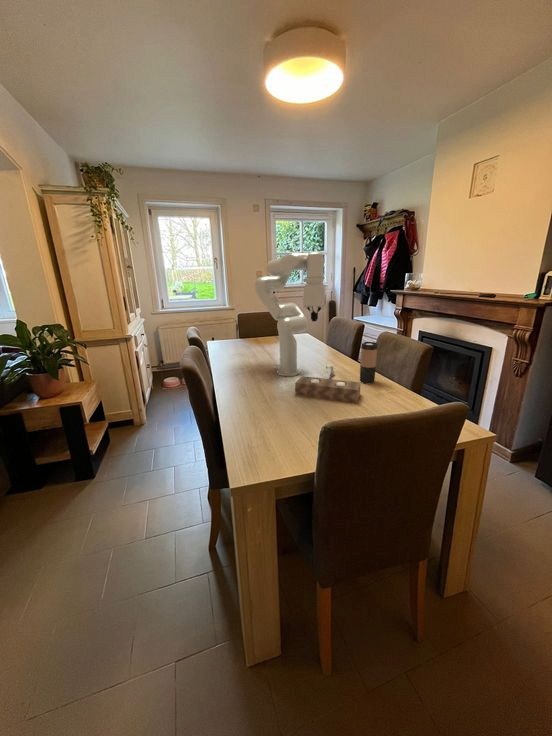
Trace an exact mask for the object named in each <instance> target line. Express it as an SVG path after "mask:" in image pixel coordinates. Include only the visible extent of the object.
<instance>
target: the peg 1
mask: <svg viewBox="0 0 552 736" xmlns="http://www.w3.org/2000/svg"><path fill="white" fill-rule="evenodd" d="M311 383H319V380H318V379H312V380H311Z"/></svg>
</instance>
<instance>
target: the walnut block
mask: <svg viewBox="0 0 552 736" xmlns="http://www.w3.org/2000/svg"><path fill="white" fill-rule="evenodd" d="M312 379H318V380H319V383H311V380H312ZM337 382H344V383H345V386H336V383H337ZM361 383H362V382H360V381H353V380H352V381H351V380H343V379H332V378H330V379H324V378H322V377H314V376H313V377H312V376H305V375H301V376H300V377H299V378H298V379H297V380H296V381H295V382H294V385H295V386H294V393H295V394H294V396H302V397H308V398H309V397H310V398H316V399H323V400H324V399H325V400H330V399H331V400H332V401H337V400H339V402H345V401H348V402H347V403H353V402H354V404H357V403H358V401H359V398H360V396H361V385H362V384H361ZM331 400H330V401H331Z"/></svg>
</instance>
